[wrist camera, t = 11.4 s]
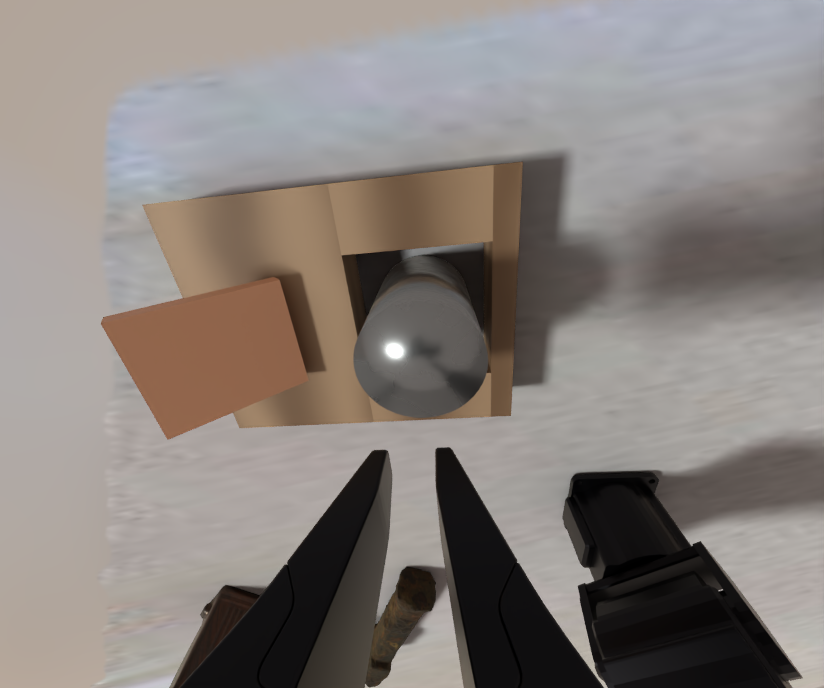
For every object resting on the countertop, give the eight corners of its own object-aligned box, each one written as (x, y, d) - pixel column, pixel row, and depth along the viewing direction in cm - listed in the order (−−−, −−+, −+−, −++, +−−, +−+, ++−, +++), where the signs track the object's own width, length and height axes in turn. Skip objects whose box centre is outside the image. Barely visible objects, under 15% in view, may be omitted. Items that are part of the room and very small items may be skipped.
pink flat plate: (273, 276, 17) (279, 279, 16) (302, 374, 20) (308, 380, 19) (103, 317, 13) (100, 323, 13) (166, 429, 16) (167, 439, 15)
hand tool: (400, 560, 34) (396, 613, 30) (436, 570, 34) (437, 624, 30) (352, 637, 42) (344, 687, 38) (382, 644, 43) (376, 694, 38)
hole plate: (508, 164, 17) (522, 161, 14) (501, 388, 23) (510, 415, 20) (183, 200, 18) (142, 204, 16) (260, 400, 25) (239, 428, 22)
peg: (466, 251, 19) (488, 295, 12) (468, 336, 21) (487, 415, 14) (374, 259, 19) (341, 307, 12) (386, 341, 22) (364, 420, 15)
